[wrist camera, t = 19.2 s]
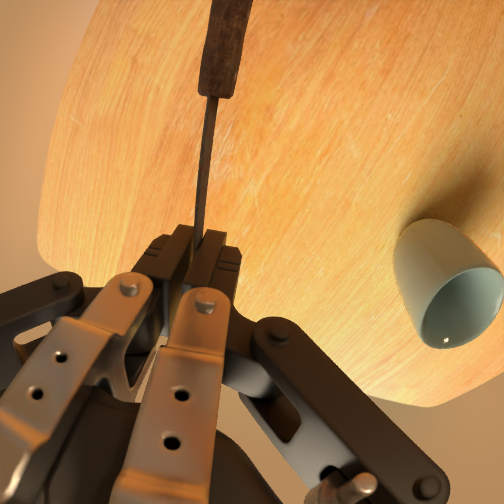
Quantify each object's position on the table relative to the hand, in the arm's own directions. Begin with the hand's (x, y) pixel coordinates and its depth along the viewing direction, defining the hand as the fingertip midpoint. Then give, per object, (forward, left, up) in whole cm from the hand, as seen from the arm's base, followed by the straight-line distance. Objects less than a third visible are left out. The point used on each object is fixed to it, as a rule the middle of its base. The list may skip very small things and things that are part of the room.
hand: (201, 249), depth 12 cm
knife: (0, +6, 0) cm, 6 cm away
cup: (+18, -3, -15) cm, 23 cm away
